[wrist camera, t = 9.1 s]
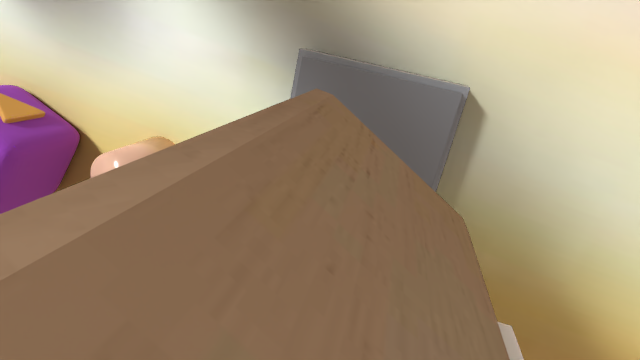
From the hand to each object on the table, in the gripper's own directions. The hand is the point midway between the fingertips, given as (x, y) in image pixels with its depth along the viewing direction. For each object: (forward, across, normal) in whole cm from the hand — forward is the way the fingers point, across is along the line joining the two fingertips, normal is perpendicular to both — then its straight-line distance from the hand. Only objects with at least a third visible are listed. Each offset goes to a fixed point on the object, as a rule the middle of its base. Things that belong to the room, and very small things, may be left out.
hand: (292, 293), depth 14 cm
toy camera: (+25, -36, -8) cm, 44 cm away
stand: (+25, 0, 0) cm, 25 cm away
